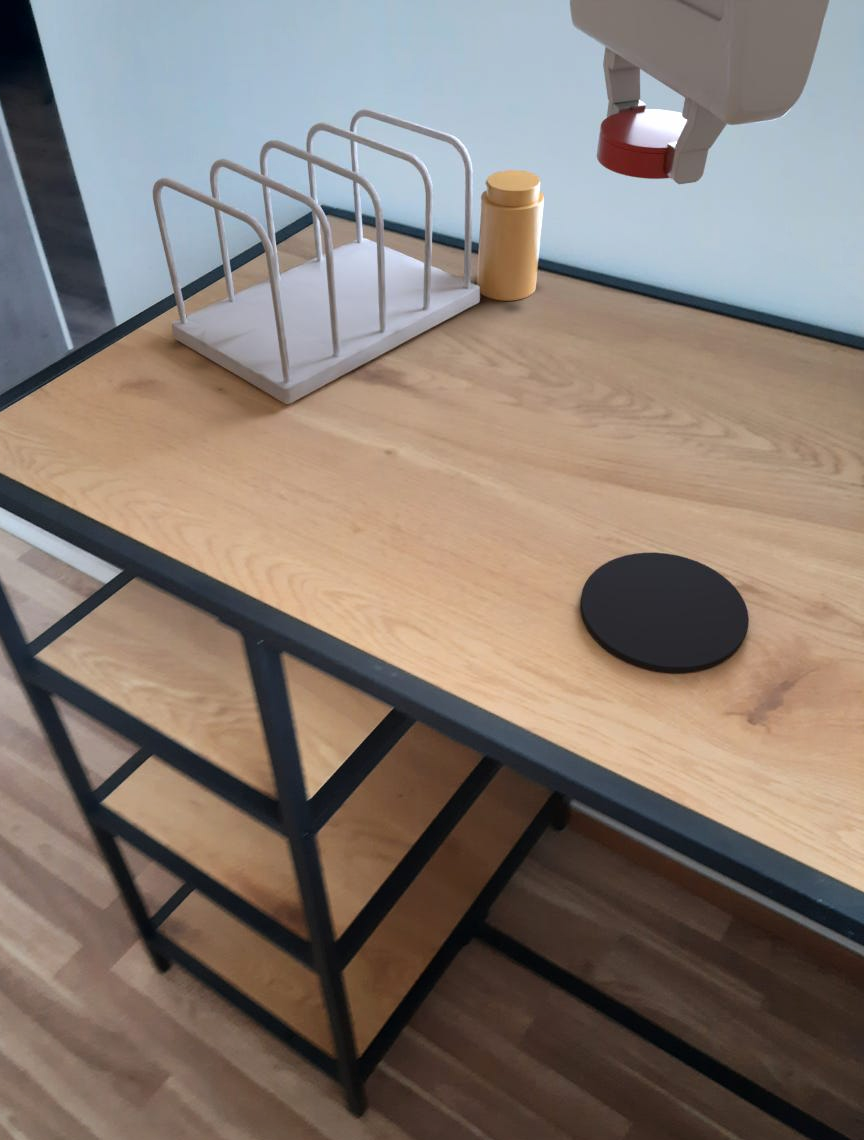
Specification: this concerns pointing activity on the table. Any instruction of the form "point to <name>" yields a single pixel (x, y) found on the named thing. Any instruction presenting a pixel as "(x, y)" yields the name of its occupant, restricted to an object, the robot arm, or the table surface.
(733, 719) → the table surface
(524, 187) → the jar
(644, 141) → the lid
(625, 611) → the black coaster
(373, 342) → the file sorter
